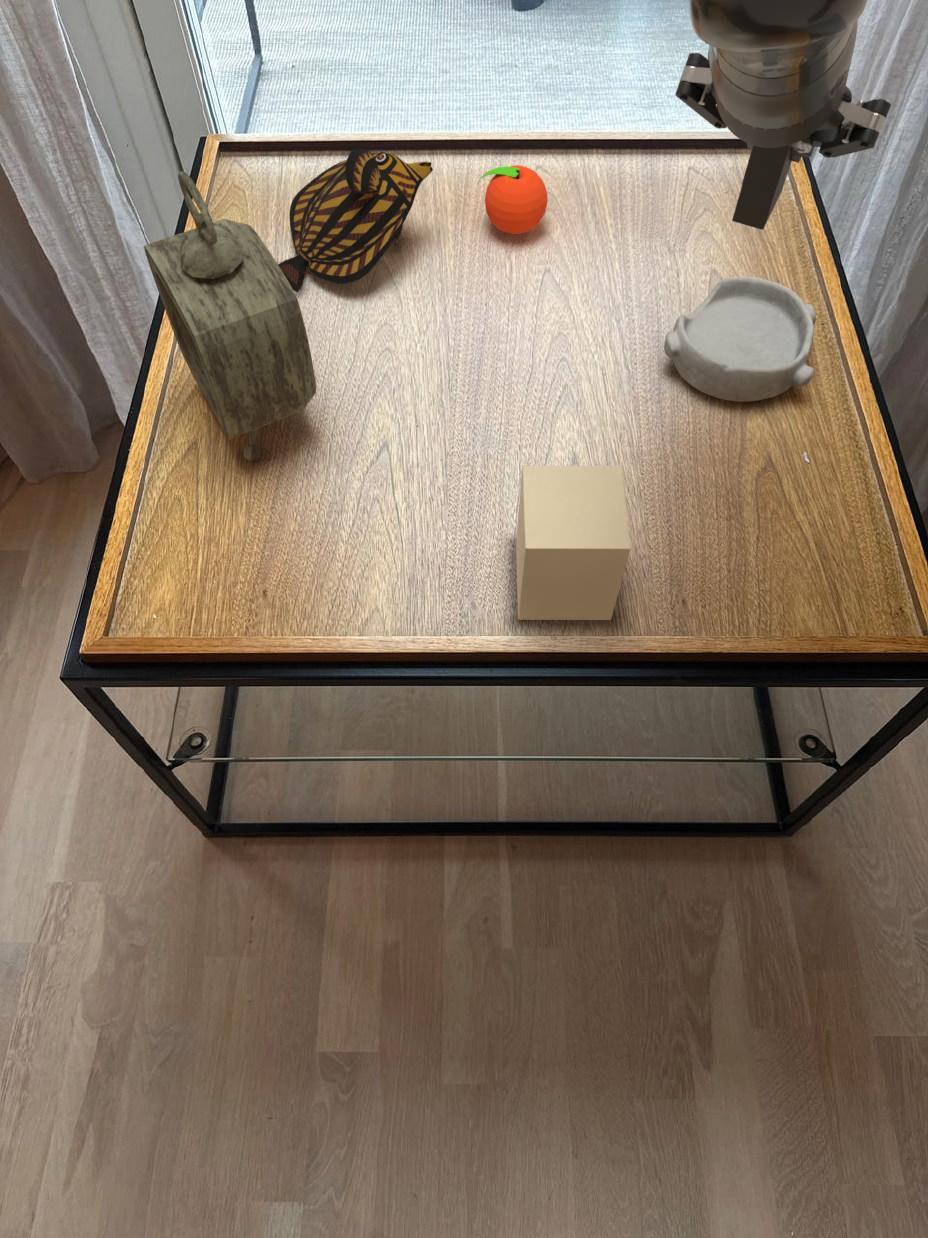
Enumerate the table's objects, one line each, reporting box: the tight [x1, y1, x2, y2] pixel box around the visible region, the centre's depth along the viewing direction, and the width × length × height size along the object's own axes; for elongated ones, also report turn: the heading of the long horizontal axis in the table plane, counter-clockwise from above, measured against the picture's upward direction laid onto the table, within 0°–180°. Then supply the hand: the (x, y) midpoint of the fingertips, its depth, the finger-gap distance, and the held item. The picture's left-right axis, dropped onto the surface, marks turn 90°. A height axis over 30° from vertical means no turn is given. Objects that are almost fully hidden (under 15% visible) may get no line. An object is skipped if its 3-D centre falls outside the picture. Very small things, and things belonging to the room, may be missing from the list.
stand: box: [515, 465, 632, 621], centre depth 76 cm, size 8×8×11 cm
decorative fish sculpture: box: [277, 148, 434, 292], centre depth 97 cm, size 14×16×12 cm
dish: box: [663, 275, 817, 403], centre depth 92 cm, size 14×14×5 cm
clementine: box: [476, 164, 549, 235], centre depth 101 cm, size 8×7×7 cm
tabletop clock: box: [143, 171, 317, 462], centre depth 80 cm, size 14×9×25 cm, turn 29°
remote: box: [731, 145, 793, 231], centre depth 66 cm, size 2×5×8 cm, turn 154°
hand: (778, 140), depth 67 cm, fingers closed on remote, 2 cm apart
